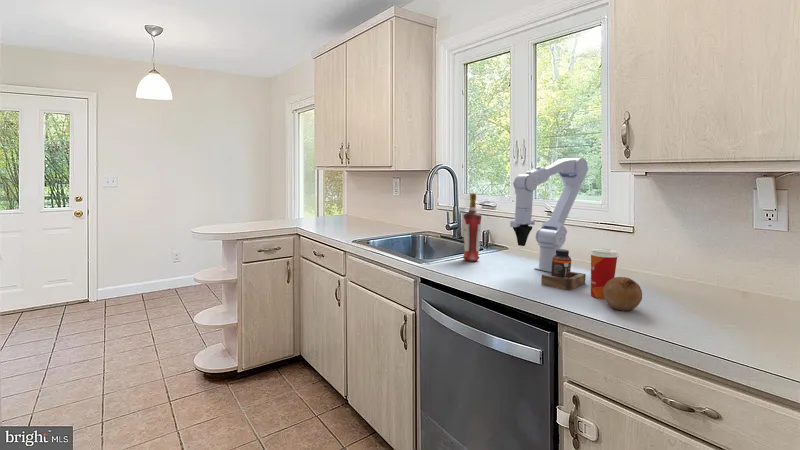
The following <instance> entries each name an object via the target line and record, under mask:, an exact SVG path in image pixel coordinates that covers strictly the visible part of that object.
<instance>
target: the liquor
mask: <svg viewBox="0 0 800 450" xmlns="http://www.w3.org/2000/svg"><path fill="white" fill-rule="evenodd" d="M476 200H477V193H475V192H474V193H469V201H470V202H469V208H468V212H466V213H464V214H463V256H462V258H463V259H464V260H465V261H466V262H471V263H472V262H474V263H475V262H477V261H478V260H480V255H479V252H480V251H479V250H480V237H481V227H482V215H481V214H480V213H478V212H477V204H476Z"/></svg>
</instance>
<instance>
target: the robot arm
mask: <svg viewBox="0 0 800 450" xmlns="http://www.w3.org/2000/svg"><path fill="white" fill-rule="evenodd" d="M588 171H589V167H588V162H587V160H586V159H585V158H584V157H579V158H578V157H577V158H573V157H572V158H560V159H557V160H556V161H555V162H553V163H552V164H550V165H548V166H546V167H544V166H541V165H539V166H535V168H534V169H532V170H528V171H526V173H525V174H518V175H516V177H515V178H514V180H513V182H512V184H513V187H514V194H515V196H516V197H515V211H514V212H515V213H514V218H513V219H511V221H510V223H509V225H510V228H512V229H513V230H514V233H515V235H516V236H515V237H516V241H517V246H520V247H526V244H527V240H528V237H529V235H530V233H531V231H532V230H533V226H535V222H536V219H533V218H532V216H533V215H532V214H533V200H534V191H535V190H536V189H537V187H538V186H539V185H541V184H544V183H546V182H547V181H549V178H550V177H552V176H553V175H556V174H559V175H558V176H559V177H560V179H561V182H563V183H564V187H563V190H562V191H561V194H560V196H559V198H558V201H556V205H555V207H554V209H553V212H552V214H551V215H550V218H549V220H546V221H545V222H542V224H541V225H540V227H539V228H538V229H537V230H536V232H535V241H536V243H537V244H538V246H539V254H538V255H539V256H538V257H539V258H538V266H536V267H534V268H533V269H534V270H537V271H544V272H549V273H551V269H552V258H553V256H555V255H556V250H557V249H562V247H563V246H564V245H565V241H566V239H567V238H566V236H567V233H568V230H567V228H566V227H565V223H566V220H567V219H568V216H569V214H570V211H571V210H572V208H573V205H574V203H575V200H576V199H577V196H578V194H579V192H580V190H581V188H582V185H583V182H584V180H585V177H586V175H587V173H588Z"/></svg>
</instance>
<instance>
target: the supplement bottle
mask: <svg viewBox="0 0 800 450" xmlns="http://www.w3.org/2000/svg"><path fill="white" fill-rule="evenodd" d="M569 253H570V251H569V250H568V249H564V248H563V249H562V248H561V249H557V250H556V255H555V256H553V258H552V269H551V272H550V275H551V276H556V277H562V278H567V279H568V278H570V272H572V271H571V268H572V258H571V257H570V256H569Z"/></svg>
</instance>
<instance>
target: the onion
mask: <svg viewBox="0 0 800 450" xmlns="http://www.w3.org/2000/svg"><path fill="white" fill-rule="evenodd" d="M603 294H604V295H603V298H604V299H603V300H604V301H605V302H607V304H608V305H609V306H610V307H611V309H615V310H617V311H623V312H624V311H626V312H627V311H632V310H634V309H635V308H637V307H639V305H640V303H641V302H642V299H643V291H642V288H641V286H640V285H639V283H638V282H636V281H635V280H633V279H632V278H629V277H626V276H615V277H614V278H612V279H610V280H609V281H608V282H607V283H606V284H605V286H604V289H603Z"/></svg>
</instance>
